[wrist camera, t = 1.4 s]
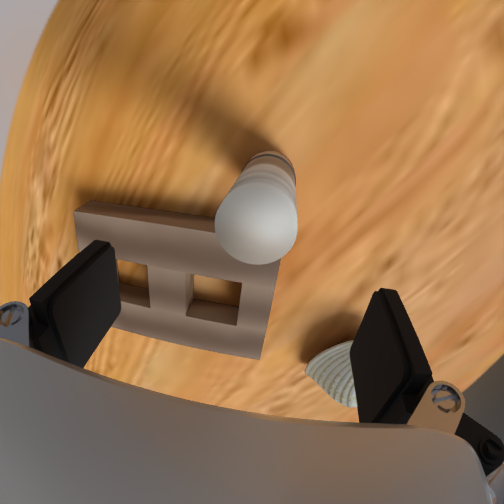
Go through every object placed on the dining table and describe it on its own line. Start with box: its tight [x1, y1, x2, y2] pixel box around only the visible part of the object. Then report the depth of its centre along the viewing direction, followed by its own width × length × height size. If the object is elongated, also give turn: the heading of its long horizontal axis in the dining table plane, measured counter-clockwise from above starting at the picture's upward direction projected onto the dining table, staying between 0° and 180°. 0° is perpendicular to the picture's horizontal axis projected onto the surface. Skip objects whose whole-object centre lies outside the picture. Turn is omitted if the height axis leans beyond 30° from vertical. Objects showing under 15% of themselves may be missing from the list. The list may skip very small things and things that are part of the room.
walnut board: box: [74, 201, 281, 360], centre depth 30 cm, size 14×20×3 cm
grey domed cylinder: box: [215, 151, 297, 265], centre depth 20 cm, size 4×4×12 cm
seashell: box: [305, 340, 357, 407], centre depth 32 cm, size 8×8×8 cm
